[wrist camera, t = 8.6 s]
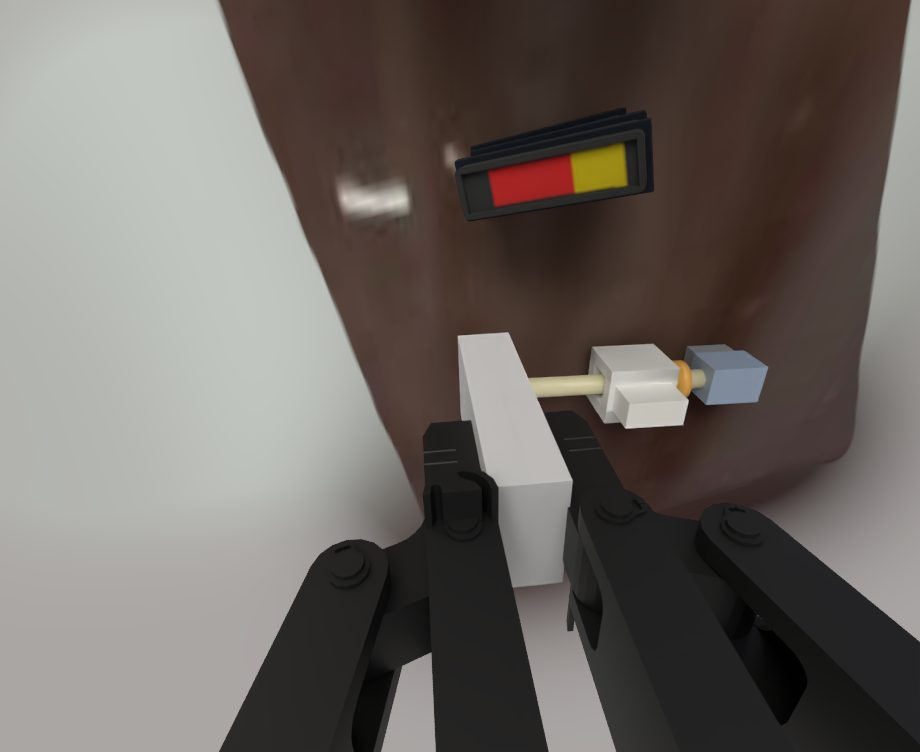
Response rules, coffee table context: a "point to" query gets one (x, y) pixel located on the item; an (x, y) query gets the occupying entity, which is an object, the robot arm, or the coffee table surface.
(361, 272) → the coffee table surface
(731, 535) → the robot arm
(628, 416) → the white stepped block
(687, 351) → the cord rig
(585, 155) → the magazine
